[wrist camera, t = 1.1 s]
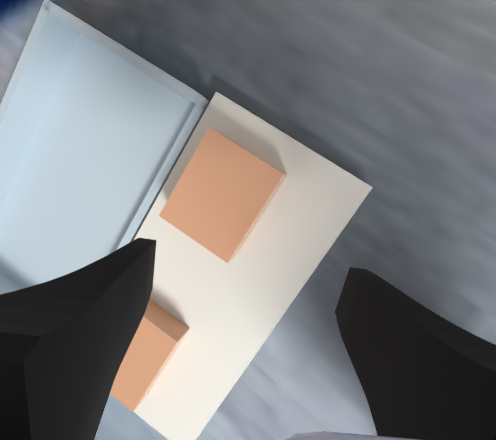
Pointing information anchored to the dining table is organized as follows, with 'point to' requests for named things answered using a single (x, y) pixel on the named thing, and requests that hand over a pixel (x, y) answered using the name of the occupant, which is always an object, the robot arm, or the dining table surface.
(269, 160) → the cream plate
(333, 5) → the dining table surface
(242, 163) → the terracotta tile
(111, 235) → the tray
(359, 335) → the robot arm
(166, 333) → the terracotta tile
